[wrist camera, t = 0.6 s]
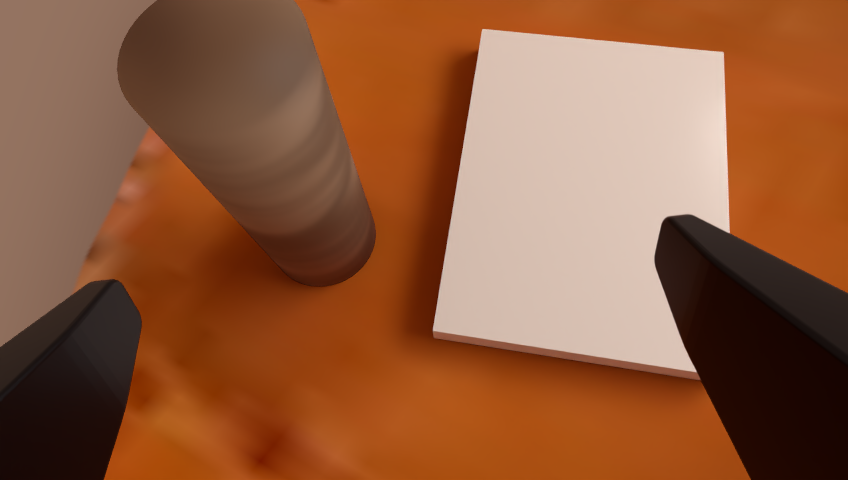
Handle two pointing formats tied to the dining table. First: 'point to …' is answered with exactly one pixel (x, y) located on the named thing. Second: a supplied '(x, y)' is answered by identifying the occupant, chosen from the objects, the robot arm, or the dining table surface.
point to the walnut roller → (254, 126)
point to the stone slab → (580, 196)
